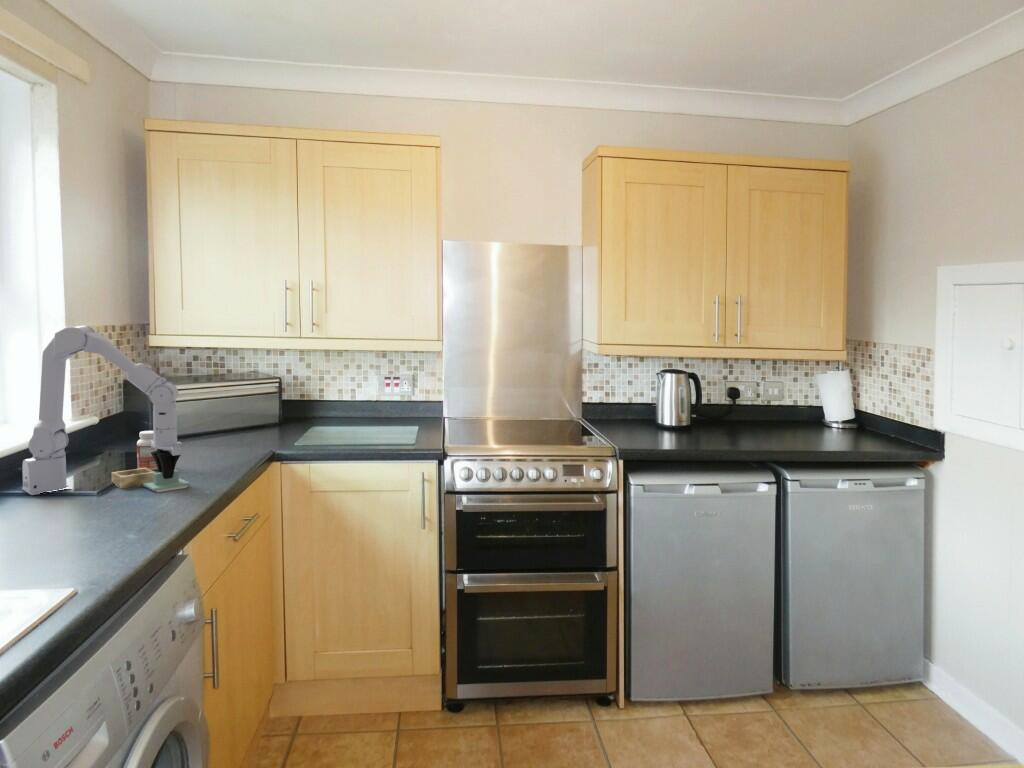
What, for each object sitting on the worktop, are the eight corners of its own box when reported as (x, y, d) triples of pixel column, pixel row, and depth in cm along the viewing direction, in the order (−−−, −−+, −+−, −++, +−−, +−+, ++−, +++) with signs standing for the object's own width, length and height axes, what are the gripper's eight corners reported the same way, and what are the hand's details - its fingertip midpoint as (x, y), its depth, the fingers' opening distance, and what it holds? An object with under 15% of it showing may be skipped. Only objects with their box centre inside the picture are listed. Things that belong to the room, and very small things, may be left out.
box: (121, 488, 196) (121, 477, 196) (111, 483, 201) (111, 472, 201) (156, 483, 203) (155, 472, 203) (146, 478, 208) (145, 467, 207)
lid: (153, 490, 194) (153, 477, 193) (142, 485, 199) (142, 472, 198) (189, 484, 200) (189, 471, 200) (177, 479, 205) (177, 467, 205)
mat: (157, 492, 194) (157, 490, 194) (145, 486, 199) (145, 484, 199) (187, 487, 200) (187, 485, 200) (175, 481, 205) (175, 480, 205)
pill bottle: (142, 466, 222) (141, 429, 221) (163, 466, 223) (162, 430, 222) (133, 470, 216) (132, 433, 215) (155, 471, 217) (155, 433, 216)
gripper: (192, 429, 196) (192, 479, 197) (168, 422, 206) (170, 470, 207) (164, 432, 191) (166, 484, 192) (142, 425, 200) (143, 474, 202)
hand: (166, 477), depth 199 cm, fingers closed on lid, 2 cm apart
